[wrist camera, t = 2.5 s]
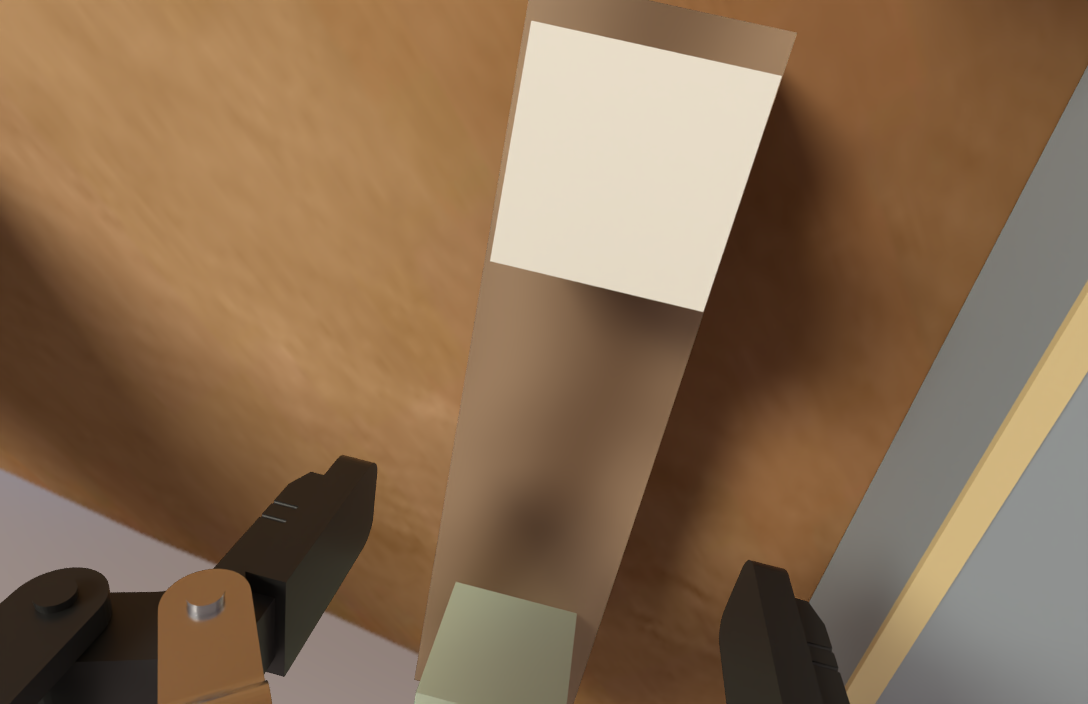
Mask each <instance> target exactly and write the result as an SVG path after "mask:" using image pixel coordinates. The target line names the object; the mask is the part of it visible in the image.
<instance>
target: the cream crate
mask: <svg viewBox="0 0 1088 704" xmlns="http://www.w3.org/2000/svg"><path fill="white" fill-rule="evenodd" d="M781 77H782V76H780V75H775V74H771V73H766V72H762V71H757V70H752V69H748V68H743V67H739V66H734V65H730V64H725V63H721V62H716V61H712V60H707V59H703V58H698V57H694V56H689V55H685V54H680V53H676V52H671V51H667V50H662V49H658V48H653V47H649V46H644V45H640V44H635V43H631V42H626V41H622V40H617V39H613V38H608V37H604V36H599V35H594V34H590V33H585V32H581V31H576V30H572V29H567V28H563V27H558V26H554V25H549V24H545V23H540V22H536V21H531V25H530V31H529V37H528V43H527V49H526V55H525V60H524V66H523V72H522V78H521V84H520V89H519V95H518V101H517V107H516V113H515V119H514V124H513V130H512V136H511V142H510V148H509V154H508V159H507V165H506V171H505V177H504V183H503V188H502V194H501V200H500V206H499V212H498V218H497V223H496V229H495V235H494V241H493V247H492V253H491V258H490V261H492V262H496V263H500V264H504V265H508V266H513V267H517V268H521V269H525V270H529V271H534V272H538V273H542V274H546V275H550V276H555V277H559V278H563V279H567V280H571V281H575V282H580V283H584V284H588V285H592V286H596V287H601V288H605V289H609V290H613V291H617V292H622V293H626V294H630V295H634V296H638V297H643V298H647V299H651V300H655V301H659V302H664V303H668V304H672V305H676V306H680V307H684V308H689V309H693V310H697V311H701V312H703V311H704V308H705V305H706V302H707V299H708V296H709V293H710V290H711V287H712V284H713V281H714V278H715V275H716V272H717V269H718V266H719V263H720V260H721V257H722V254H723V251H724V248H725V245H726V242H727V239H728V236H729V233H730V230H731V227H732V224H733V221H734V218H735V215H736V212H737V209H738V206H739V203H740V200H741V197H742V194H743V191H744V188H745V185H746V182H747V179H748V176H749V173H750V170H751V167H752V164H753V161H754V158H755V155H756V152H757V149H758V146H759V143H760V140H761V137H762V134H763V131H764V128H765V125H766V122H767V119H768V116H769V113H770V110H771V107H772V104H773V101H774V98H775V95H776V92H777V89H778V86H779V83H780V80H781Z"/></svg>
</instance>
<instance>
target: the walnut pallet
mask: <svg viewBox="0 0 1088 704" xmlns="http://www.w3.org/2000/svg"><path fill="white" fill-rule="evenodd" d="M531 21H536V22H540V23H545V24H549V25H554V26H558V27H563V28H567V29H572V30H576V31H581V32H585V33H590V34H594V35H599V36H604V37H608V38H613V39H617V40H622V41H626V42H631V43H635V44H640V45H644V46H649V47H653V48H658V49H662V50H667V51H671V52H676V53H680V54H685V55H689V56H694V57H698V58H703V59H707V60H712V61H716V62H721V63H725V64H730V65H734V66H739V67H743V68H748V69H752V70H757V71H762V72H766V73H771V74H775V75H780V76H782V77H783V74H784V71H785V68H786V65H787V62H788V59H789V56H790V53H791V50H792V47H793V44H794V41H795V38H796V35H797V33H796V32H791V31H787V30H782V29H778V28H773V27H768V26H764V25H759V24H755V23H750V22H746V21H741V20H736V19H732V18H727V17H723V16H718V15H713V14H709V13H704V12H700V11H695V10H691V9H686V8H681V7H677V6H672V5H668V4H663V3H659V2H654V1H649V0H528V6H527V12H526V18H525V24H524V30H523V36H522V42H521V48H520V54H519V60H518V66H517V72H516V78H515V84H514V90H513V96H512V102H511V107H510V113H509V119H508V125H507V131H506V137H505V143H504V149H503V155H502V161H501V167H500V173H499V179H498V185H497V191H496V197H495V203H494V209H493V215H492V221H491V227H490V232H489V238H488V244H487V250H486V256H485V262H484V268H483V274H482V280H481V286H480V292H479V298H478V304H477V310H476V316H475V322H474V328H473V334H472V340H471V346H470V352H469V358H468V363H467V369H466V375H465V381H464V387H463V393H462V399H461V405H460V411H459V417H458V423H457V429H456V435H455V441H454V447H453V453H452V459H451V465H450V471H449V477H448V483H447V488H446V494H445V500H444V506H443V512H442V518H441V524H440V530H439V536H438V542H437V548H436V554H435V560H434V566H433V572H432V578H431V584H430V590H429V596H428V602H427V608H426V613H425V619H424V625H423V631H422V637H421V643H420V649H419V655H418V661H417V667H416V674H415V680H418V681H420V680H421V677H422V674H423V671H424V669H425V666H426V663H427V660H428V658H429V655H430V652H431V649H432V647H433V644H434V641H435V638H436V635H437V633H438V630H439V627H440V624H441V622H442V619H443V616H444V613H445V611H446V608H447V605H448V602H449V599H450V597H451V594H452V591H453V588H454V586H455V583H456V582H459V583H462V584H466V585H470V586H474V587H478V588H482V589H485V590H489V591H493V592H497V593H501V594H505V595H508V596H512V597H516V598H520V599H524V600H528V601H531V602H535V603H539V604H543V605H547V606H550V607H554V608H558V609H562V610H566V611H570V612H573V613H577V617H576V626H575V635H574V644H573V653H572V661H571V670H570V679H569V688H568V697H567V704H574V701H575V698H576V695H577V692H578V689H579V686H580V683H581V680H582V677H583V674H584V671H585V668H586V665H587V662H588V659H589V656H590V653H591V650H592V647H593V644H594V641H595V638H596V635H597V632H598V629H599V626H600V623H601V620H602V617H603V614H604V611H605V608H606V605H607V602H608V599H609V596H610V593H611V590H612V587H613V584H614V581H615V578H616V575H617V572H618V569H619V566H620V563H621V560H622V557H623V554H624V551H625V548H626V545H627V542H628V539H629V536H630V533H631V530H632V527H633V524H634V521H635V518H636V515H637V512H638V509H639V506H640V503H641V500H642V497H643V494H644V491H645V488H646V485H647V482H648V479H649V476H650V473H651V470H652V467H653V464H654V461H655V458H656V455H657V452H658V449H659V446H660V443H661V440H662V437H663V434H664V431H665V428H666V425H667V422H668V419H669V416H670V413H671V410H672V407H673V404H674V401H675V398H676V395H677V392H678V389H679V386H680V383H681V380H682V377H683V374H684V371H685V368H686V365H687V362H688V359H689V356H690V353H691V350H692V347H693V344H694V341H695V338H696V335H697V332H698V329H699V326H700V323H701V320H702V317H703V314H704V311H705V308H706V305H707V302H708V299H709V296H710V293H711V290H712V287H713V284H714V281H715V278H716V275H717V272H718V269H719V266H720V263H721V260H722V257H723V254H724V251H725V248H726V245H727V242H728V239H729V236H730V233H731V230H732V227H733V224H734V221H735V218H736V215H737V212H738V209H739V206H740V203H741V200H742V197H743V194H744V191H745V188H746V185H747V182H748V179H749V176H750V173H751V170H752V167H753V164H754V161H755V158H756V155H757V152H758V149H759V146H760V143H761V140H762V137H763V134H764V131H765V128H766V125H767V122H768V119H769V116H770V113H771V110H772V107H773V104H774V101H775V98H776V95H777V92H778V89H779V86H780V83H781V80H782V77H781V80H780V83H779V86H778V89H777V92H776V95H775V98H774V101H773V104H772V107H771V110H770V113H769V116H768V119H767V122H766V125H765V128H764V131H763V134H762V137H761V140H760V143H759V146H758V149H757V152H756V155H755V158H754V161H753V164H752V167H751V170H750V173H749V176H748V179H747V182H746V185H745V188H744V191H743V194H742V197H741V200H740V203H739V206H738V209H737V212H736V215H735V218H734V221H733V224H732V227H731V230H730V233H729V236H728V239H727V242H726V245H725V248H724V251H723V254H722V257H721V260H720V263H719V266H718V269H717V272H716V275H715V278H714V281H713V284H712V287H711V290H710V293H709V296H708V299H707V302H706V305H705V308H704V311H703V312H701V311H697V310H693V309H689V308H684V307H680V306H676V305H672V304H668V303H664V302H659V301H655V300H651V299H647V298H643V297H638V296H634V295H630V294H626V293H622V292H617V291H613V290H609V289H605V288H601V287H596V286H592V285H588V284H584V283H580V282H575V281H571V280H567V279H563V278H559V277H555V276H550V275H546V274H542V273H538V272H534V271H529V270H525V269H521V268H517V267H513V266H508V265H504V264H500V263H496V262H492V261H490V258H491V253H492V247H493V241H494V235H495V229H496V223H497V218H498V212H499V206H500V200H501V194H502V188H503V183H504V177H505V171H506V165H507V159H508V154H509V148H510V142H511V136H512V130H513V124H514V119H515V113H516V107H517V101H518V95H519V89H520V84H521V78H522V72H523V66H524V60H525V55H526V49H527V43H528V37H529V31H530V25H531Z"/></svg>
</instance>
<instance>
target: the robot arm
mask: <svg viewBox="0 0 1088 704" xmlns="http://www.w3.org/2000/svg"><path fill="white" fill-rule="evenodd" d="M376 479H377V465H376V464H375V463H372V462H368V461H364V460H360V459H357V458H353V457H349V456H345V455H342V456H340V457H339V458H338V459H337V460H336V461H335V463H334V464H333V465H332V466H331V467H330V469H329V470H328V471H327V472H326V473H325V475H321V474H317V473H313V472H310V473H308V474H306V475H304V476H302V477H301V478H299V479H297V480H295V481H293V482H291V483H290V484H288V485H287V487H286V488H285V489H284V490H283V491H282V492H281V493H280V494H279V496H278V497H277V498H276V499H275V500H274V503H273V504H272V503H271V505H270V506H269V507H268V508H267V509H266V510H265V511H264V512H263V514H262V517H259V518H258V519H257V520H256V521H255V523H254V524H253V525H252V526H251V527H250V528H249V529H248V530H247V532H246V533H245V534H244V535H243V536H242V537H241V538H240V539H239V541H238V542H237V543H236V544H235V545H234V546H233V547H232V548H231V550H230V551H229V552H228V553H227V554H226V555H225V556H224V557H223V559H222V560H221V561H220V562H219V563H218V564H217V565H216V566H215V567H214V568H213V569H208V570H202V571H198V572H195V573H192V574H190V575H187V576H185V577H183V578H182V579H180V580H178V581H177V582H175V583H174V584H173V585H172V586H171V587H170V588H168V589H167V591H163V592H126V593H125V592H121V593H120V592H119V593H118V592H117V593H110V590H109V584H108V581H107V579H106V578H105V577H104V576H103V575H102V574H101V573H99V572H97V571H95V570H92V569H88V568H64V569H60V570H55V571H51V572H48V573H45V574H43V575H40V576H38V577H36V578H34V579H32V580H30V581H28V582H27V583H25V584H23V585H22V586H20V587H19V588H18V589H17V590H15V591H14V592H13V593H12V594H11V595H9V596H8V598H6V599H5V600H4V601H3V602H2V603H0V704H272V700H271V694H270V689H269V684H268V681H267V680H266V681H265V679H264V674H265V672H269V673H273V674H277V675H280V676H283V677H284V676H285V675H286V673H287V672H288V670H289V668H290V667H291V665H292V663H293V662H294V660H295V659H296V657H297V655H298V654H299V652H300V650H301V649H302V647H303V645H304V644H305V642H306V641H307V639H308V637H309V636H310V634H311V632H312V631H313V629H314V628H315V626H316V624H317V623H318V621H319V619H320V618H321V616H322V614H323V613H324V611H325V610H326V608H327V606H328V605H329V603H330V601H331V600H332V598H333V596H334V595H335V593H336V592H337V590H338V588H339V587H340V585H341V583H342V582H343V580H344V578H345V577H346V575H347V574H348V572H349V570H350V569H351V567H352V565H353V564H354V562H355V561H356V559H357V557H358V556H359V554H360V552H361V551H362V549H363V547H364V545H365V543H366V541H367V539H368V536H369V533H370V530H371V526H372V521H373V512H374V501H375V490H376ZM719 645H720V654H721V662H722V670H723V679H724V687H725V695H726V704H850V702H849V699H848V696H847V693H846V690H845V686H844V683H843V680H842V677H841V674H840V672H838V668H839V667H838V664H837V661H836V658H835V655H834V653H833V652H832V645H831V642H830V639H829V636H828V633H827V630H826V626H825V624H824V623H823V621H822V620H821V619H820V617H819V616H818V614H817V613H816V612H815V610H814V609H813V608H812V606H811V605H810V603H809V602H808V601H804V600H800V599H796V598H795V597H794V593H793V590H792V586H791V583H790V579H789V575H788V573H787V571H786V570H785V569H782V568H778V567H774V566H770V565H766V564H762V563H759V562H755V561H751V560H748V561H746V563H745V564H744V566H743V568H742V570H741V572H740V575H739V577H738V579H737V582H736V584H735V586H734V589H733V591H732V593H731V596H730V598H729V600H728V603H727V605H726V607H725V610H724V612H723V616H722V619H721V624H720V632H719Z"/></svg>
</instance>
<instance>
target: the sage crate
mask: <svg viewBox="0 0 1088 704" xmlns="http://www.w3.org/2000/svg"><path fill="white" fill-rule="evenodd" d="M576 617H577V613H573V612H570V611H566V610H562V609H558V608H554V607H550V606H547V605H543V604H539V603H535V602H531V601H528V600H524V599H520V598H516V597H512V596H508V595H505V594H501V593H497V592H493V591H489V590H485V589H482V588H478V587H474V586H470V585H466V584H462V583H459V582H456V583H455V586H454V588H453V591H452V594H451V597H450V599H449V602H448V605H447V608H446V611H445V613H444V616H443V619H442V622H441V624H440V627H439V630H438V633H437V635H436V638H435V641H434V644H433V647H432V649H431V652H430V655H429V658H428V660H427V663H426V666H425V669H424V671H423V674H422V677H421V680H420V683H419V685H418V688H417V691H416V695H415V701H414V704H567V697H568V688H569V679H570V670H571V661H572V653H573V644H574V635H575V626H576Z"/></svg>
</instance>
